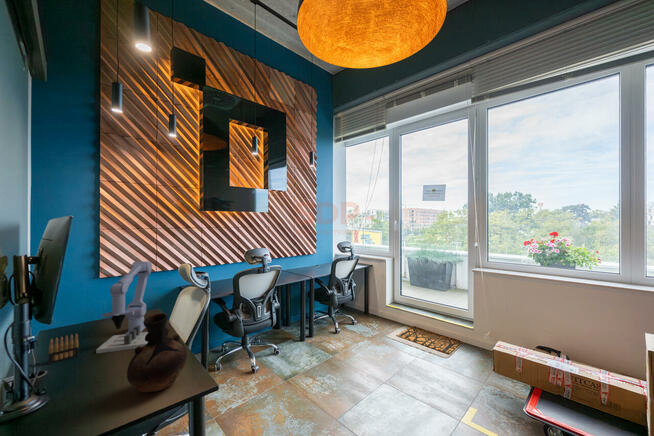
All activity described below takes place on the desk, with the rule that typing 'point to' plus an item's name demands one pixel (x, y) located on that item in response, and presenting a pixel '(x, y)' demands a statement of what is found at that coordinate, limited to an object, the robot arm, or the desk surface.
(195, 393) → the desk surface
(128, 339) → the block
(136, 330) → the block
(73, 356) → the ammunition clip
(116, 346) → the breaker panel
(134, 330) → the block
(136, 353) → the ceramic vessel
